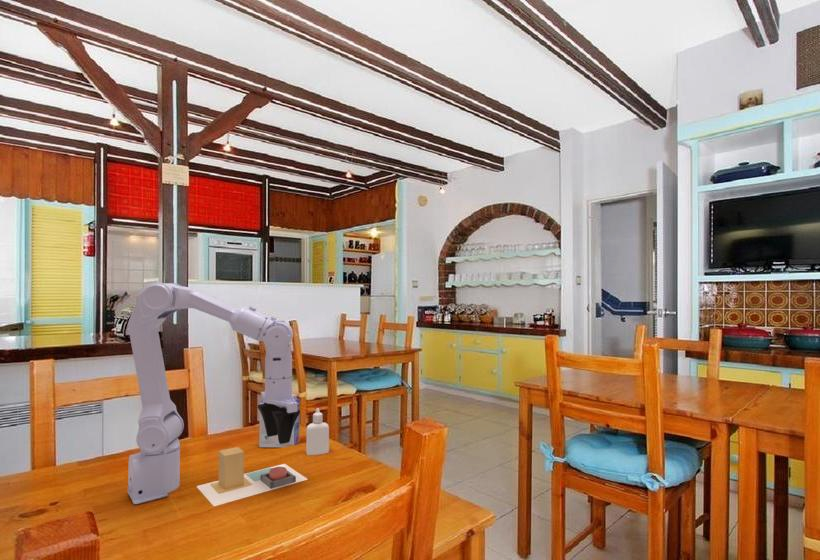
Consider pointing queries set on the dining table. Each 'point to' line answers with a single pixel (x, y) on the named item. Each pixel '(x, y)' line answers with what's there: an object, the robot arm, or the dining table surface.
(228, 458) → the ochre block
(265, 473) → the white board with squares
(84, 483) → the dining table surface
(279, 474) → the button
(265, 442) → the ink cartridge box
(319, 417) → the eye dropper bottle
